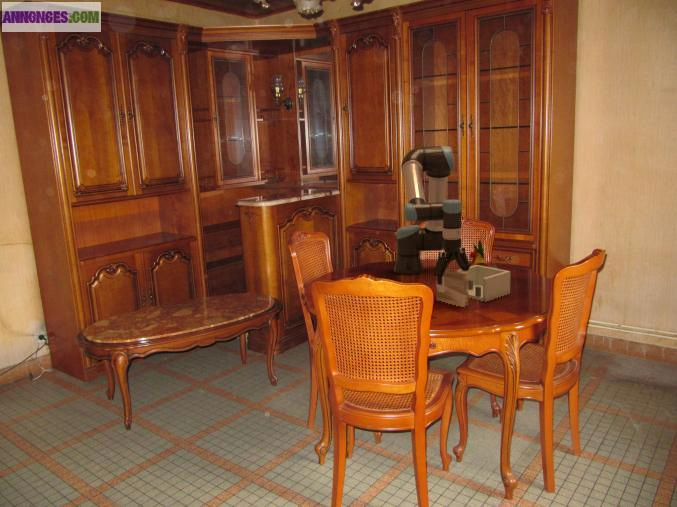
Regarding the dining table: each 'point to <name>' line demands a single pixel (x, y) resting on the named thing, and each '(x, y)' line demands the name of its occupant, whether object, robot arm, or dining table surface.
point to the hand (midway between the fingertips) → (452, 288)
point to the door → (454, 288)
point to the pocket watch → (494, 265)
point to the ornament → (478, 256)
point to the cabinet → (487, 283)
